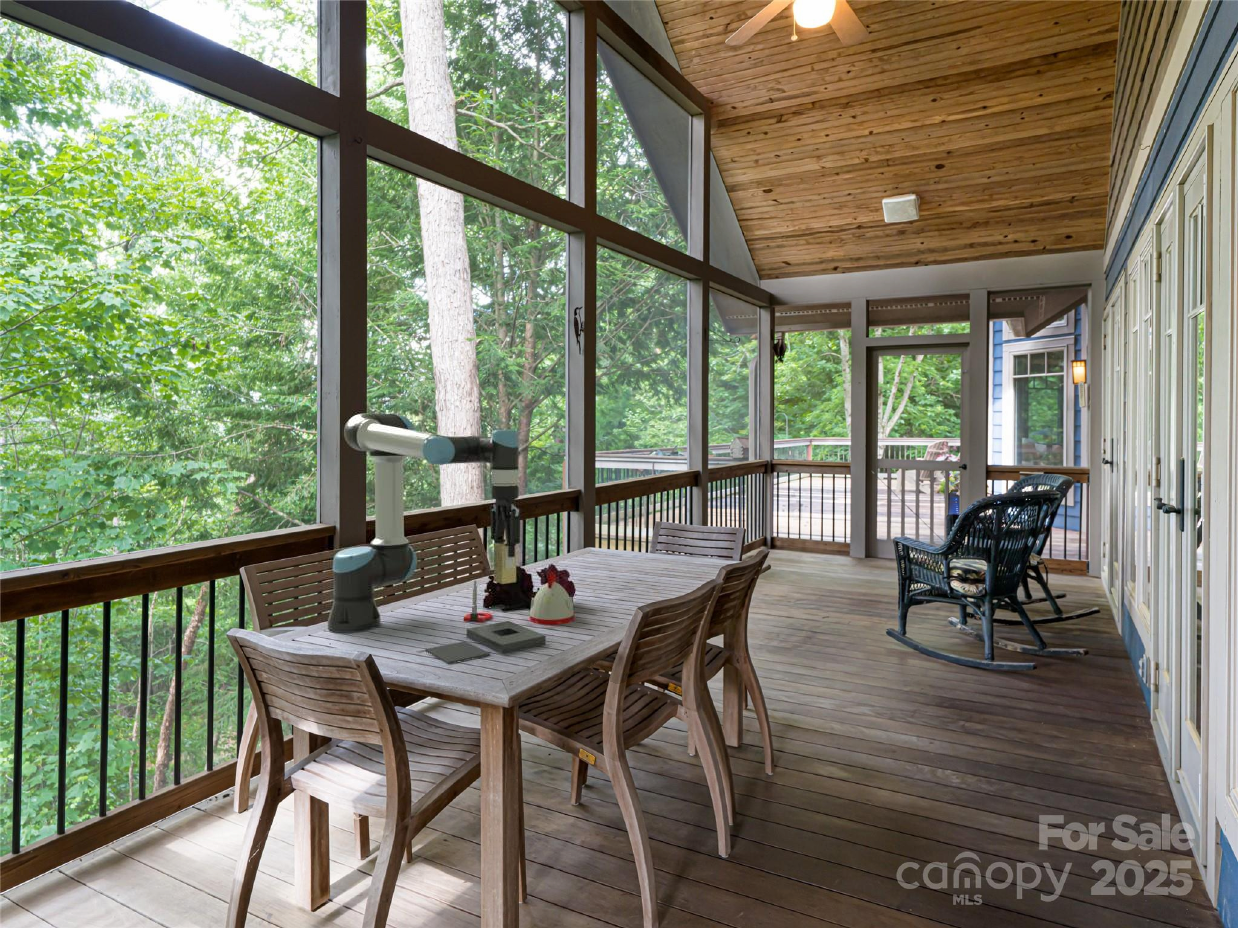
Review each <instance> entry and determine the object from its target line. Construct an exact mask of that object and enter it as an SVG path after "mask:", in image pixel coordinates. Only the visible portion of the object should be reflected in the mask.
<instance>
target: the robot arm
mask: <svg viewBox="0 0 1238 928" xmlns="http://www.w3.org/2000/svg"><path fill="white" fill-rule="evenodd" d="M343 436H344V440H345V441H346V443H347V444H348V445H349V446H350V447H351V448H353V449H354V450H357V451H360V452H369V458H370V459H371V460H373V461H374V499H375V500H374V505H375V508H374V510H375V511H374V512H375V514H374V515H375V516H374V517H375V538H374V539H372V540H371V541H370V546H362V545H361V546H356V547H349V548H345V549H341V550H340V551H338V552H337V553H335V554H334V557H333V561H332V575H333V576H332V578H333V583H332V584H333V585H332V586H333V604H332V606H331V609H330V613H329V616H328V619H327V629H328V630H329V631H331V632H336V633H356V632H358V633H359V632H363V631H369V630H372V629H373V630H374V629H375V628H378V627H379V626H380V625H382V624H381V622H382V621H381V615H380V611H379V609H378V607H377V603H376V600H375V588H379V587H384V586H389V585H393V584H394V585H395V584H399V583H401V582H404V581H407V580H409V579H410V578H412V576H413V575H414V573H415V572H416V569H417V564H418V557H417V553H416V552H415V549H414V548H413V547H412V546H411V545H410V543H409V542H410V541H409V540H408V539H407V537H405V531H404V530H405V528H404V527H405V523H404V516H405V515H404V512H405V511H404V510H405V509H404V461H405V460H406V459H407V458H408V457H409V458H410V457H411V458H416V459H421V460H425V461H427V462H428V463H429V464H431V465H439V466H443V465H450V464H451V465H453V464H472V463H473V464H475V463H481V464H483V463H485V464H487V463H488V464H491V484H493V485H492V486H491V498H492V499H494V500H495V502H494V504H492V505H491V504H490V505H489V511H490V539H491V540H493V541H494V543H496V542H506V541H507V544H504V545H505V569H511V568H515V545H516V546H517V544H518V545H519V544H520V543H521V515H522V509H521V508H517V507H516V500H517V499H518V498H519V495H520V494H519V492H520V491H519V486H518V484H519V475H520V474H519V456H520V455H519V454H520V451H519V450H520V443H519V442H520V439H519V433H518V431H517V430H516V429H493V430H492V431H491V436H481V435H480V436H479V435H478V436H477V435H468V436H447V435H441V434H435V433H431V432H430V433H429V432H425V431H419V430H415V427H414V424H413V423H412V421H410V419H409V417H407V416H405V415H402V414H396V413H367V412H365V413H359V414H356V415H353V416H352V417H350V419H348V421H347V422H346V423H345V425H344V429H343ZM504 537H505V538H504Z"/></svg>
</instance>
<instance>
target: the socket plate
mask: <svg viewBox="0 0 1238 928" xmlns="http://www.w3.org/2000/svg"><path fill="white" fill-rule="evenodd" d="M466 638H467V639H470V640H471V639H472V640H471V641H473V642H475V641H476V643H477V642H478V644H480V645H482V646H485V647H486V648H488V649H490V650H493V651H494V652H497V653H498V654H501V655H503V654H509V653H513V652H517V651H523V650H527V649H532V648H536V647H540V646H545V645H547V641H546V639H547V636H546V635H545V634H543V633H540V632H538V631H535V630H533V629H530V628H528V627H526V626H522V625H521V624H517V623H515V622H513V621H510V620H505V621H500V622H495V623H490V624H486V625H479V626H474V627H473V626H472V627H469V628H468V627H467V628H466Z"/></svg>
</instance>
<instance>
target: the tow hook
mask: <svg viewBox="0 0 1238 928" xmlns="http://www.w3.org/2000/svg"><path fill="white" fill-rule="evenodd" d="M477 588H478V587H477V580H475V579H474V580H473V587H472V604H471V613H467V614H465V615H464V616H463V622H471V621H475V623H478V622H479V623H485V622H484V621H487V620H490V619H491V620H492V618H493V614H492V613H489V612H488V613H487V612H478V605H477V598H478V597H477V594H478V590H477ZM478 615H480V616H478Z"/></svg>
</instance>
